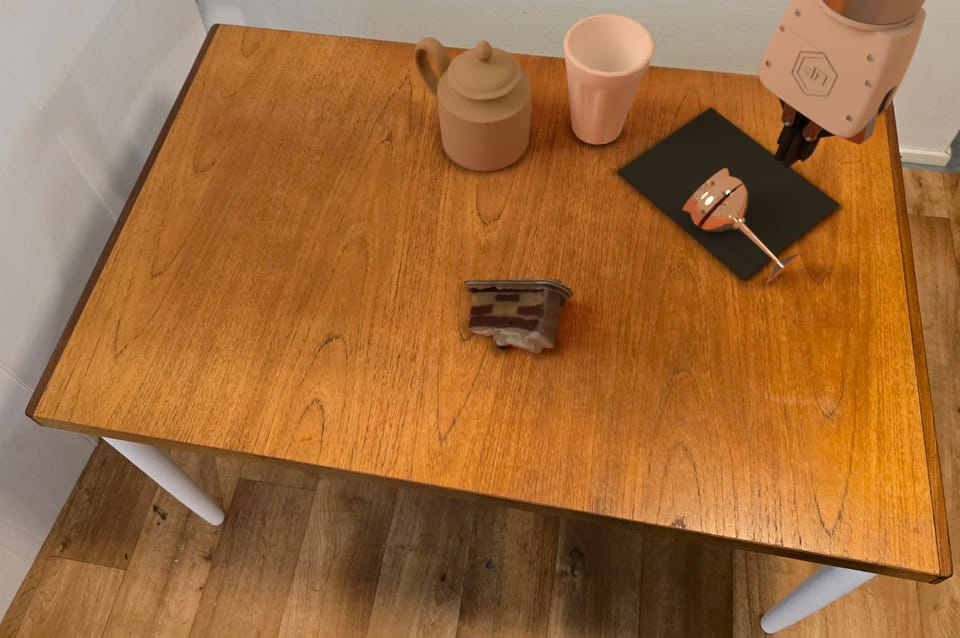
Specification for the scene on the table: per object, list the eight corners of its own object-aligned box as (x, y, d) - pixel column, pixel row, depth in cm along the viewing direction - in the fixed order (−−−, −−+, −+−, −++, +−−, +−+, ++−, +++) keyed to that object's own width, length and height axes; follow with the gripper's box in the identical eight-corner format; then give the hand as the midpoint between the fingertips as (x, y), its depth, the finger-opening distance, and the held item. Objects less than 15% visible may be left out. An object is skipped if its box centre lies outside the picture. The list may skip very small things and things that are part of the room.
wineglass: (818, 236, 77) (735, 157, 80) (771, 275, 76) (689, 194, 79) (794, 260, 83) (718, 186, 86) (751, 297, 82) (675, 221, 85)
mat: (838, 207, 86) (840, 204, 86) (744, 281, 82) (745, 278, 81) (709, 110, 94) (710, 107, 94) (617, 173, 90) (618, 169, 89)
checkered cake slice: (445, 342, 79) (520, 338, 70) (456, 279, 81) (531, 267, 72) (511, 362, 85) (588, 361, 76) (520, 303, 87) (597, 294, 77)
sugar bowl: (402, 161, 92) (385, 65, 78) (424, 97, 97) (411, -3, 84) (521, 178, 90) (524, 83, 77) (537, 112, 95) (542, 12, 82)
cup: (594, 171, 90) (607, 89, 79) (540, 124, 94) (544, 40, 82) (653, 131, 93) (674, 46, 81) (598, 87, 97) (610, 1, 85)
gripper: (759, -47, 56) (703, 130, 72) (933, 57, 50) (829, 226, 65) (824, -86, 58) (755, 95, 74) (998, 9, 52) (882, 184, 68)
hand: (790, 156), depth 70 cm, fingers closed
